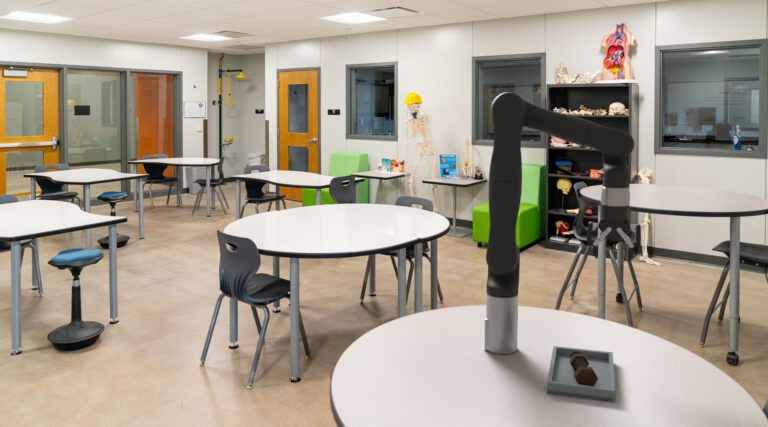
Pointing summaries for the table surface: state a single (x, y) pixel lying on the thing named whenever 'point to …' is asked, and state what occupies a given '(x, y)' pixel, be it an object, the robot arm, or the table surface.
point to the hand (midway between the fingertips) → (612, 259)
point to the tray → (563, 372)
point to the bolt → (582, 370)
